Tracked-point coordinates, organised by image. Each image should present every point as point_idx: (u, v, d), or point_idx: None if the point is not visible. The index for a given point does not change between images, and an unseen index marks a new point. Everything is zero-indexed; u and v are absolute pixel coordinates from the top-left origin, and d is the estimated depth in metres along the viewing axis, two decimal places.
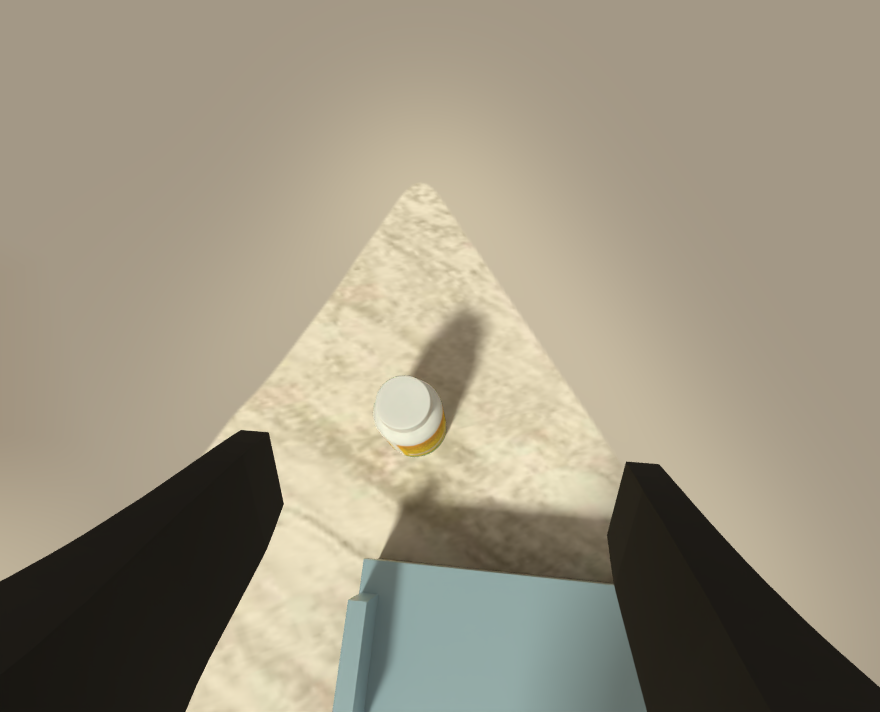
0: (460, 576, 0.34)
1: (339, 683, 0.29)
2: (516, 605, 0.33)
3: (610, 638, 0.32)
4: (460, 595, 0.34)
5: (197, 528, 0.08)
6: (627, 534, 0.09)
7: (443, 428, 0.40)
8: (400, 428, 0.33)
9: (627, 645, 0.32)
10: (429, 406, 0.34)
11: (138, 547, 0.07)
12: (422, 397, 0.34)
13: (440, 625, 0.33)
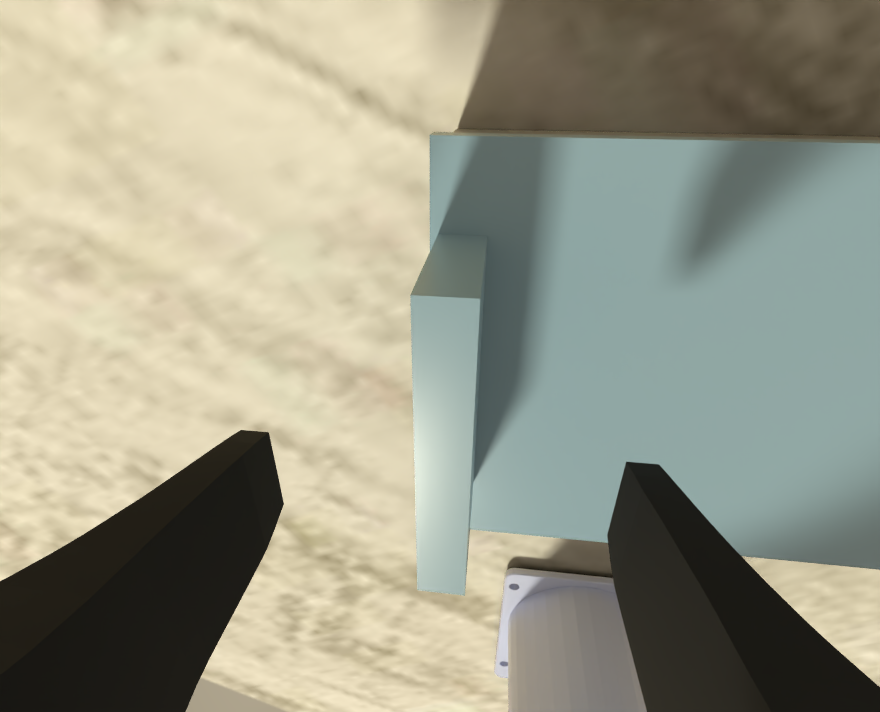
0: (760, 166, 0.10)
1: (423, 490, 0.10)
2: None
3: None
4: (746, 223, 0.11)
5: (197, 528, 0.08)
6: (627, 534, 0.09)
7: None
8: None
9: None
10: None
11: (138, 547, 0.07)
12: None
13: (668, 303, 0.12)
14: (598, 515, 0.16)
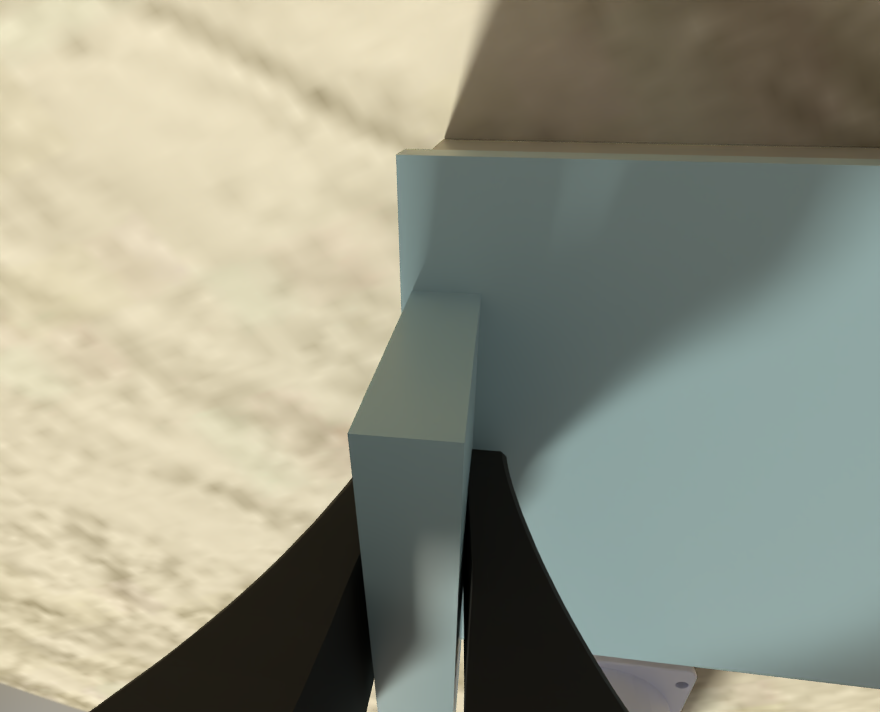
0: None
1: (386, 676, 0.07)
2: None
3: None
4: (855, 282, 0.07)
5: None
6: None
7: None
8: None
9: None
10: None
11: (347, 570, 0.06)
12: None
13: (732, 386, 0.09)
14: (623, 630, 0.12)
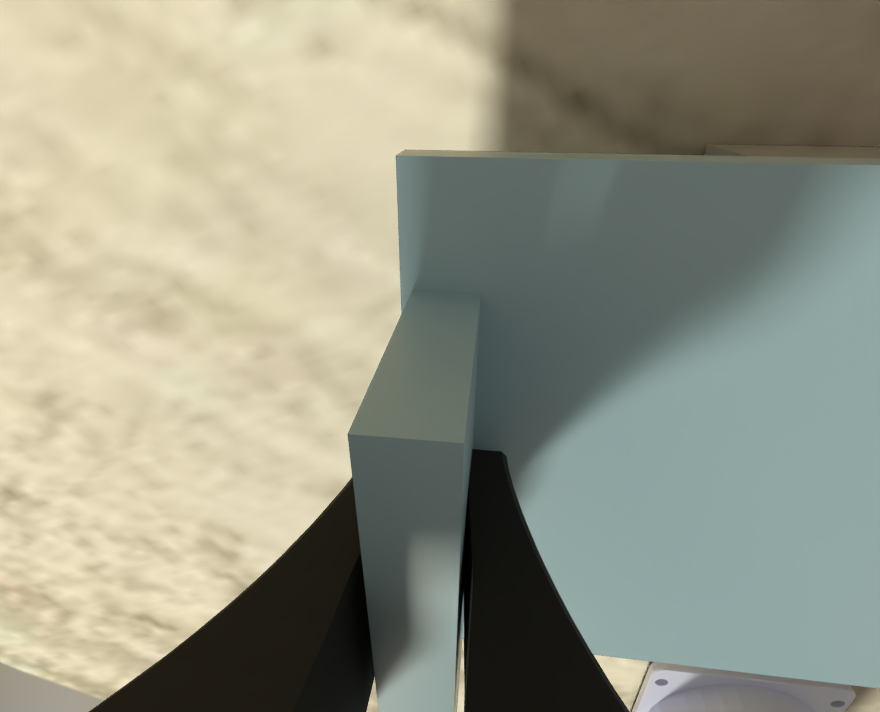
0: None
1: (386, 676, 0.07)
2: None
3: None
4: (855, 282, 0.07)
5: None
6: None
7: None
8: None
9: None
10: None
11: (346, 570, 0.06)
12: None
13: (732, 385, 0.09)
14: (624, 630, 0.12)
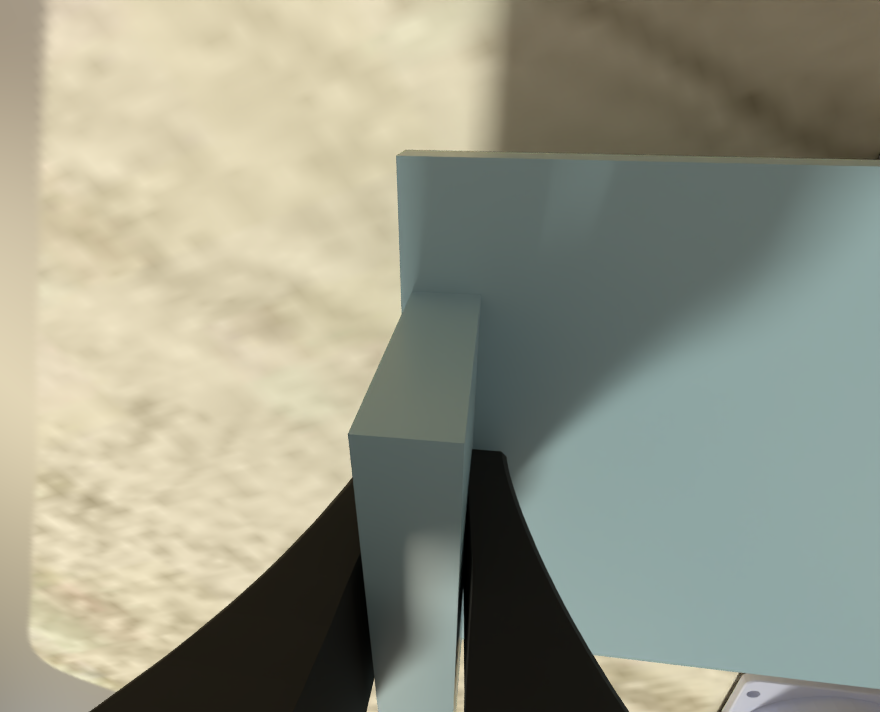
0: None
1: (386, 677, 0.07)
2: None
3: None
4: (855, 283, 0.07)
5: None
6: None
7: None
8: None
9: None
10: None
11: (347, 570, 0.06)
12: None
13: (732, 386, 0.09)
14: (624, 631, 0.12)
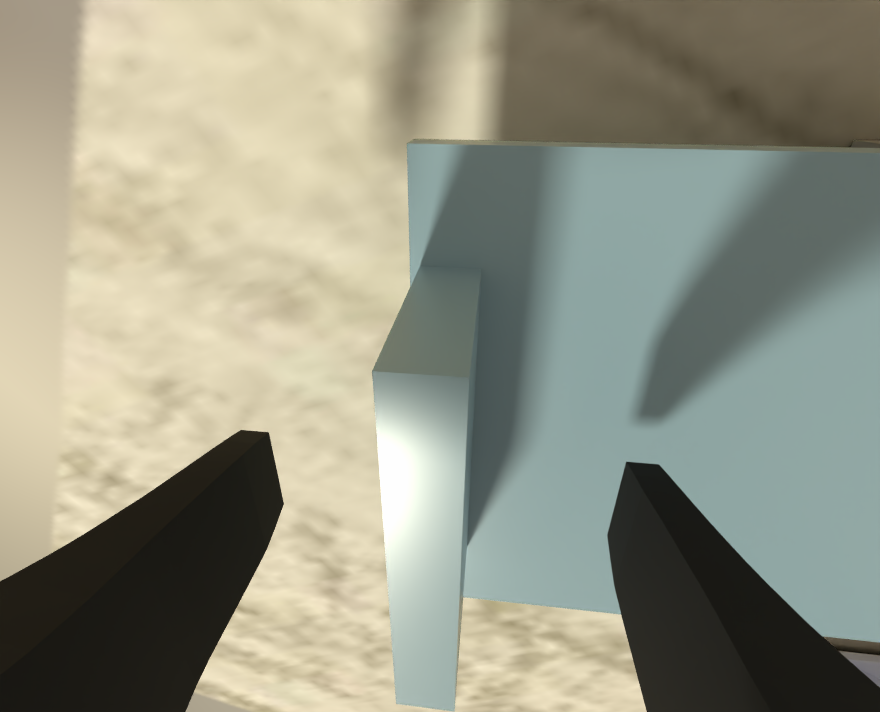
0: (833, 184, 0.08)
1: (399, 600, 0.08)
2: None
3: None
4: (811, 256, 0.08)
5: (197, 528, 0.08)
6: (627, 534, 0.09)
7: None
8: None
9: None
10: None
11: (138, 547, 0.07)
12: None
13: (706, 351, 0.10)
14: (612, 586, 0.13)
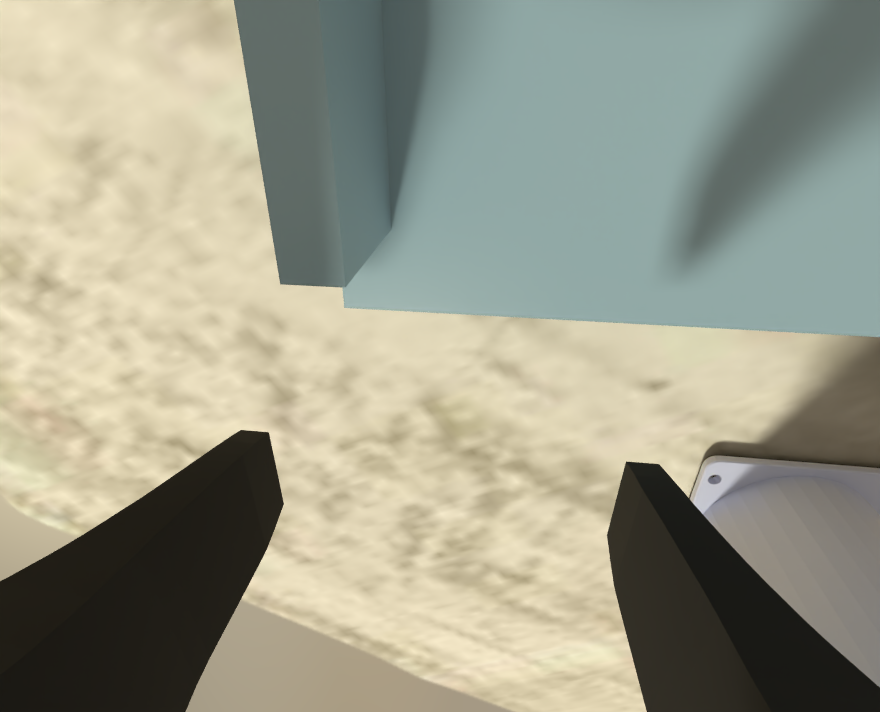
0: None
1: (255, 57, 0.07)
2: None
3: None
4: None
5: (197, 528, 0.08)
6: (627, 534, 0.09)
7: None
8: None
9: None
10: None
11: (138, 547, 0.07)
12: None
13: None
14: (552, 275, 0.12)
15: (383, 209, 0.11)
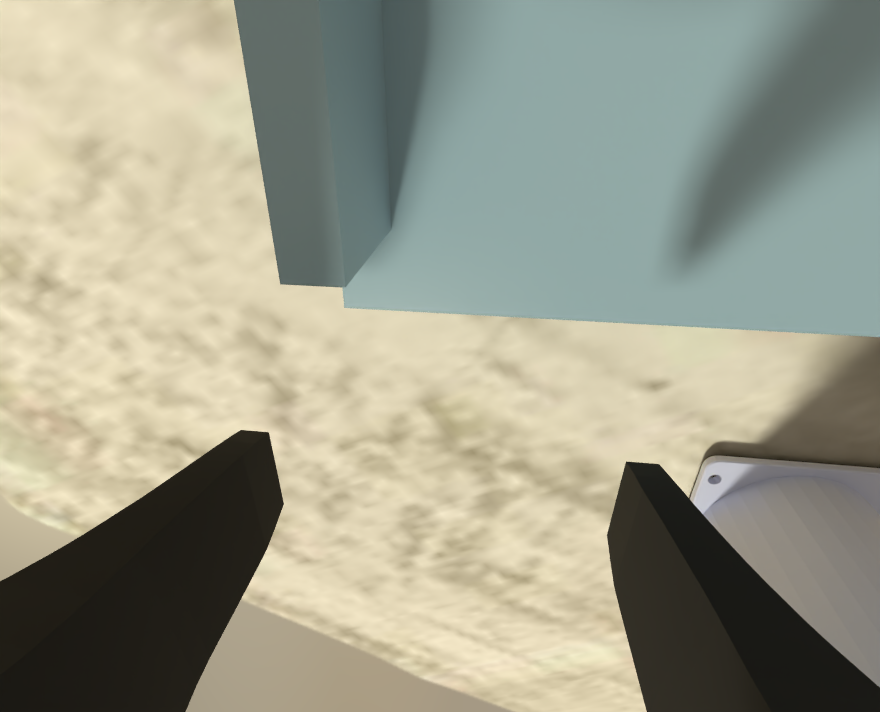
0: None
1: (255, 57, 0.07)
2: None
3: None
4: None
5: (197, 528, 0.08)
6: (627, 534, 0.09)
7: None
8: None
9: None
10: None
11: (138, 547, 0.07)
12: None
13: None
14: (552, 275, 0.12)
15: (383, 209, 0.11)
